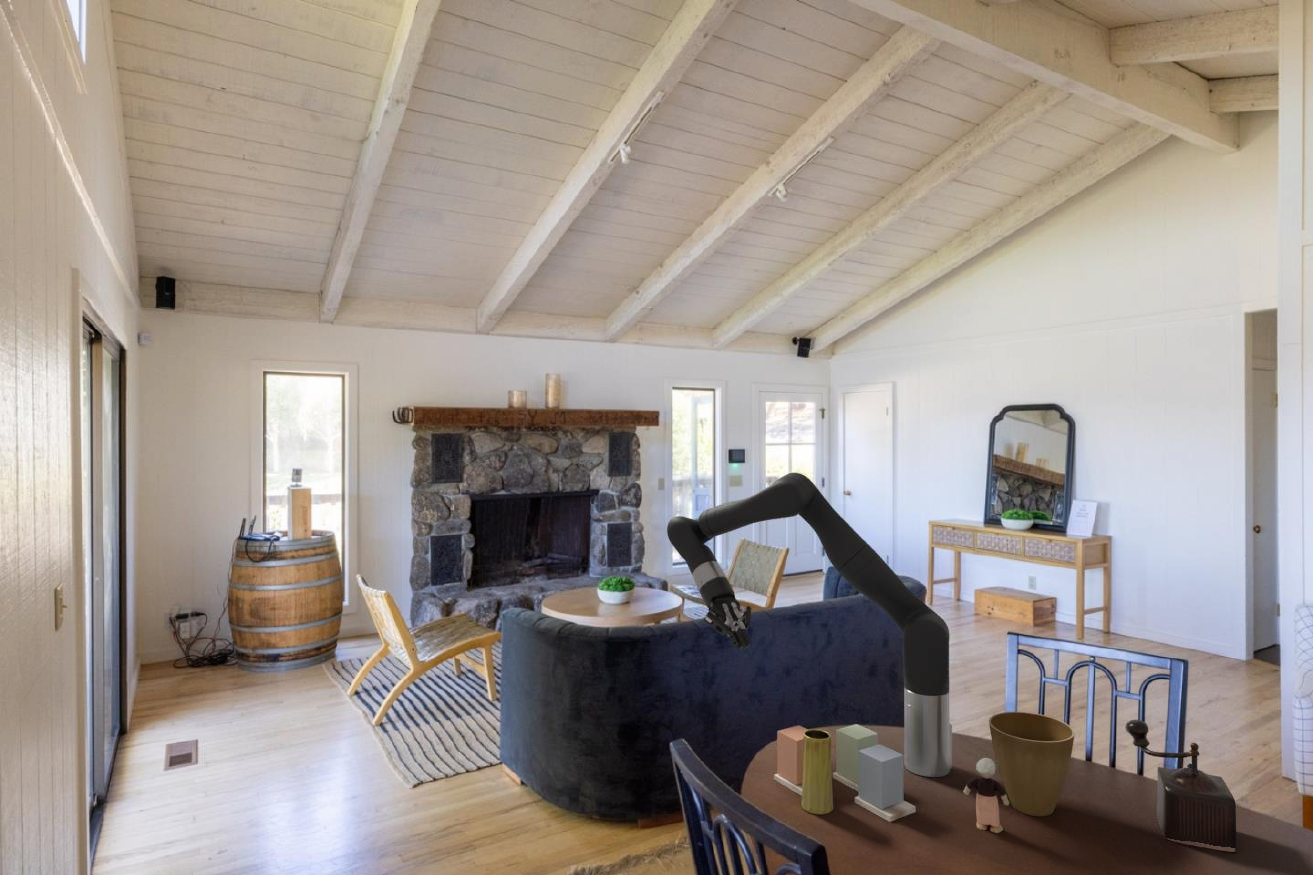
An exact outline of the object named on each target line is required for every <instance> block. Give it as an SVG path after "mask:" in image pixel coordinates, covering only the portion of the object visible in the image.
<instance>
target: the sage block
mask: <svg viewBox="0 0 1313 875" xmlns="http://www.w3.org/2000/svg"><path fill="white" fill-rule="evenodd" d="M835 745H836V746H835V748H836V750H835V751H836V752H835V755H836V756H835V759H836V760H835V761H836V762H835V769H836V771H835V772H837V773H838V774H840V775H842V776H844V777H846V778H848V779H850V780H852V781H854V782H856V783H858V751H859V750H862V749H866V748H869V747H872V746H875V745H879V733H878V732H877V731H875V730H874V731H873V730H871V729H869V728H867V727H864V726H862V725H861V724H857V723H854V724H852V725H848V726H845V727H841V728H838V729H836V730H835Z"/></svg>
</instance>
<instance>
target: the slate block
mask: <svg viewBox="0 0 1313 875" xmlns="http://www.w3.org/2000/svg"><path fill="white" fill-rule="evenodd" d="M904 788H905V787H904V754H902V753H900V752H898V751H895V750H893V749H891V748H889V747H886V746H884V745H882V744H880V743H878V745H875V746H872V747H869V748H866V749H862V750H859V751H858V791H857V793H858V794H857V796H858V797H860V798H862V799H864V800H866V801H868V802H870V803H871V804H873V805H875V806H877V807H879V808H881V809H884V808H887V807H889V806H892V805H895V804H897V803H900V802H903V801H905V800H904Z"/></svg>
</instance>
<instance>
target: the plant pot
mask: <svg viewBox="0 0 1313 875" xmlns="http://www.w3.org/2000/svg"><path fill="white" fill-rule="evenodd" d="M988 723H989V724H988V725H989V731H990V736H991V742H992V748H993V752H994V757H995V761H996V764H997V768H998V770H999V774H1000V775H999V776H1000V777H1001V780H1002V781H1001V782H1002V783H1003V787H1004V790H1005V792H1006V796H1007V798H1008V799H1009V800H1008V801H1009V803H1010V805H1011V806H1012V808H1013V809H1015V810H1016V811H1018V812H1020V813H1023V814H1025V815H1029V816H1033V817H1034V816H1035V817H1048V816H1050V815H1052V814H1053V813H1054V810H1055V809H1056V806H1057V804H1058V802H1059V800H1060V797H1061V794H1062V792H1063V788H1064V786H1065V782H1066V779H1067V775H1068V772H1069V769H1070V768H1069V767H1070V763H1071V759H1072V754H1073V749H1074V748H1073V747H1074V741H1075V734H1076V732H1075V730H1074V729H1073V727H1072V726H1070V725H1069V724H1068V723H1067V722H1064V721H1062V720H1060V719H1057V718H1055V717H1051V716H1048V715H1045V714H1040V713H1035V712H1026V711H1025V712H1024V711H1004V712H1000V713H996V714H993V715H992V716H991V717H989V719H988Z"/></svg>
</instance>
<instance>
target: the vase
mask: <svg viewBox="0 0 1313 875" xmlns="http://www.w3.org/2000/svg"><path fill="white" fill-rule="evenodd" d="M833 794H834V793H833V772H832V734H831V733H830V732H828V731H826V730H824V729H819V728H818V729H817V728H810V729H808V730H806V731H805V732H804V752H803V784H802V796H801V804H800V805H801V808H802V809H803V810H804V811H805V812H807V813H810V814H813V815H820V816H821V815H828V814H831V812H833V811H834V800H833V799H834V798H833Z"/></svg>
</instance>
